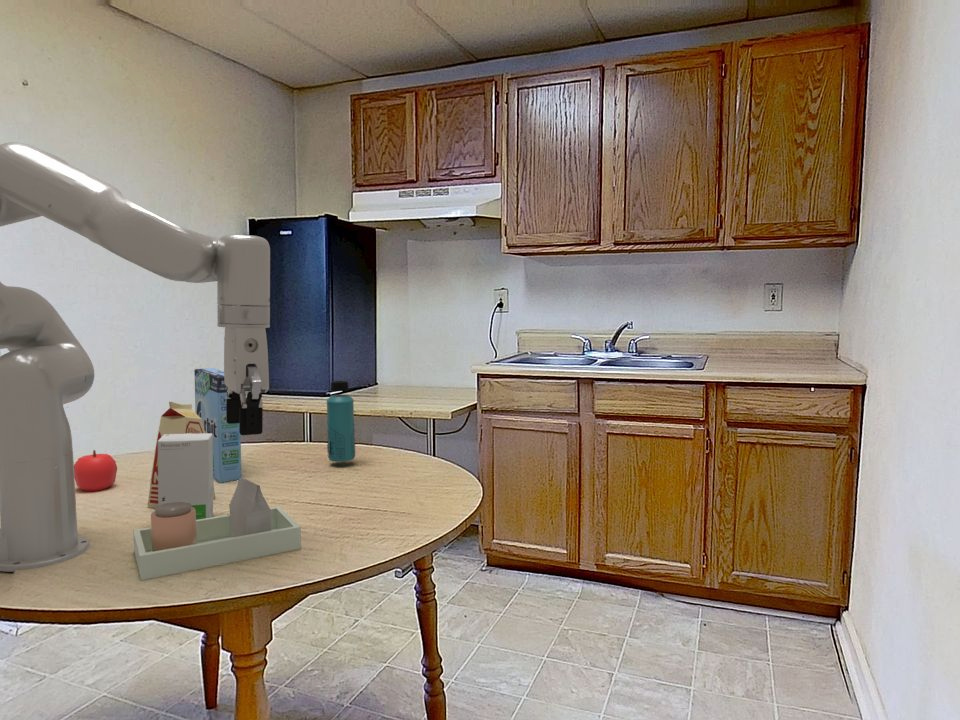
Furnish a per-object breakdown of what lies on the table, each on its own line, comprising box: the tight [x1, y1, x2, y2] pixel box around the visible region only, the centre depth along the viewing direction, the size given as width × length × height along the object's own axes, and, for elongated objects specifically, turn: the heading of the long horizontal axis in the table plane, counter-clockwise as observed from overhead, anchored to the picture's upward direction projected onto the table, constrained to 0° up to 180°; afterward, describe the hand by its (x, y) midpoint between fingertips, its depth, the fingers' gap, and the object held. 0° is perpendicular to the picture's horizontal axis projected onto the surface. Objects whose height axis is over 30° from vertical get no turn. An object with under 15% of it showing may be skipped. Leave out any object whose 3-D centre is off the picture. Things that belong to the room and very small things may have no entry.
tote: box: [132, 505, 302, 582], centre depth 100 cm, size 22×12×4 cm, turn 122°
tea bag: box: [229, 477, 271, 538], centre depth 103 cm, size 4×7×10 cm, turn 42°
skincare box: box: [158, 433, 214, 520], centre depth 113 cm, size 8×7×16 cm
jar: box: [150, 502, 197, 552], centre depth 97 cm, size 6×6×8 cm
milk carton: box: [147, 401, 216, 509], centre depth 125 cm, size 9×9×20 cm
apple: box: [74, 449, 118, 492], centre depth 136 cm, size 8×8×8 cm
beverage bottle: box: [326, 380, 356, 463], centre depth 154 cm, size 6×7×20 cm
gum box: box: [193, 367, 242, 484], centre depth 147 cm, size 19×5×23 cm, turn 37°
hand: (243, 428), depth 101 cm, fingers open, 9 cm apart
